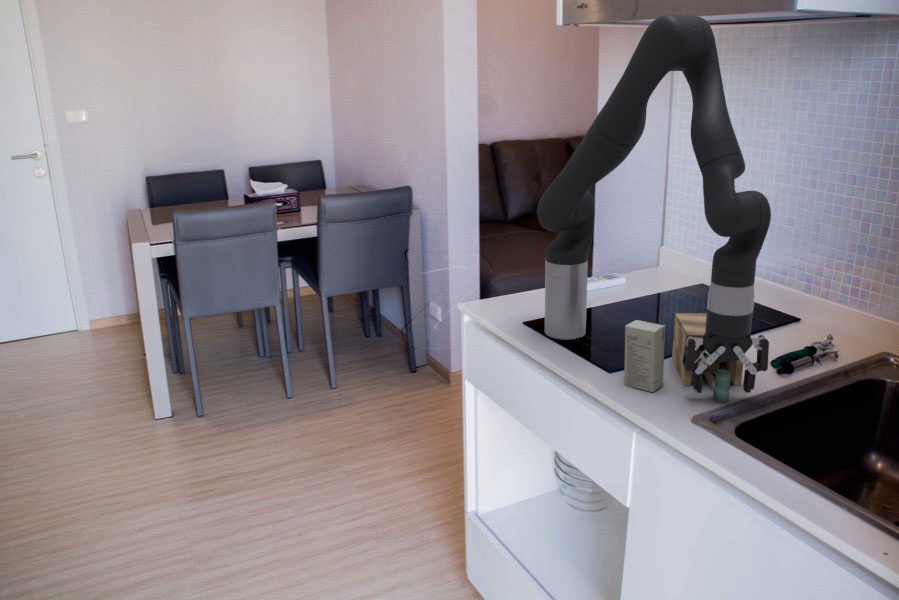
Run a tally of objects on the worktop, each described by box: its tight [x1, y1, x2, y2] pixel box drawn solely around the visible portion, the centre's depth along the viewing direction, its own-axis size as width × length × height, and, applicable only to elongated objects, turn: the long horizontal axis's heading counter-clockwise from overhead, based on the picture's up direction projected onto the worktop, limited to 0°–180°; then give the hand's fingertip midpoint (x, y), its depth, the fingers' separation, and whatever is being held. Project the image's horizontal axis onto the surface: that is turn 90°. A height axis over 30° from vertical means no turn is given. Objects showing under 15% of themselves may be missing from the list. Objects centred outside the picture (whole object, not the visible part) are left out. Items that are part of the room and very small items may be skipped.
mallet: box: [692, 345, 731, 404], centre depth 142 cm, size 18×5×6 cm, turn 175°
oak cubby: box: [671, 312, 744, 387], centre depth 145 cm, size 12×10×10 cm
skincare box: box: [623, 319, 666, 393], centre depth 140 cm, size 6×4×12 cm
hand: (722, 390), depth 135 cm, fingers open, 8 cm apart
